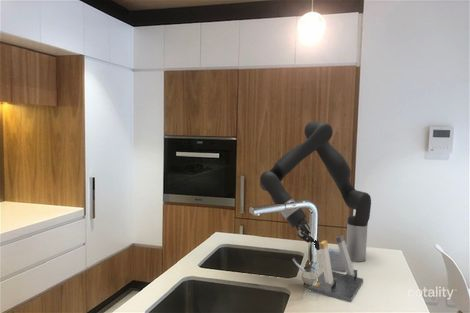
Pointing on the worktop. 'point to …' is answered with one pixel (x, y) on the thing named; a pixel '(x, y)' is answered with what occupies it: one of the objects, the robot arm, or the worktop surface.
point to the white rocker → (326, 262)
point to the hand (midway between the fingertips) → (320, 248)
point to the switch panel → (338, 286)
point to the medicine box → (336, 260)
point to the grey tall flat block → (345, 255)
